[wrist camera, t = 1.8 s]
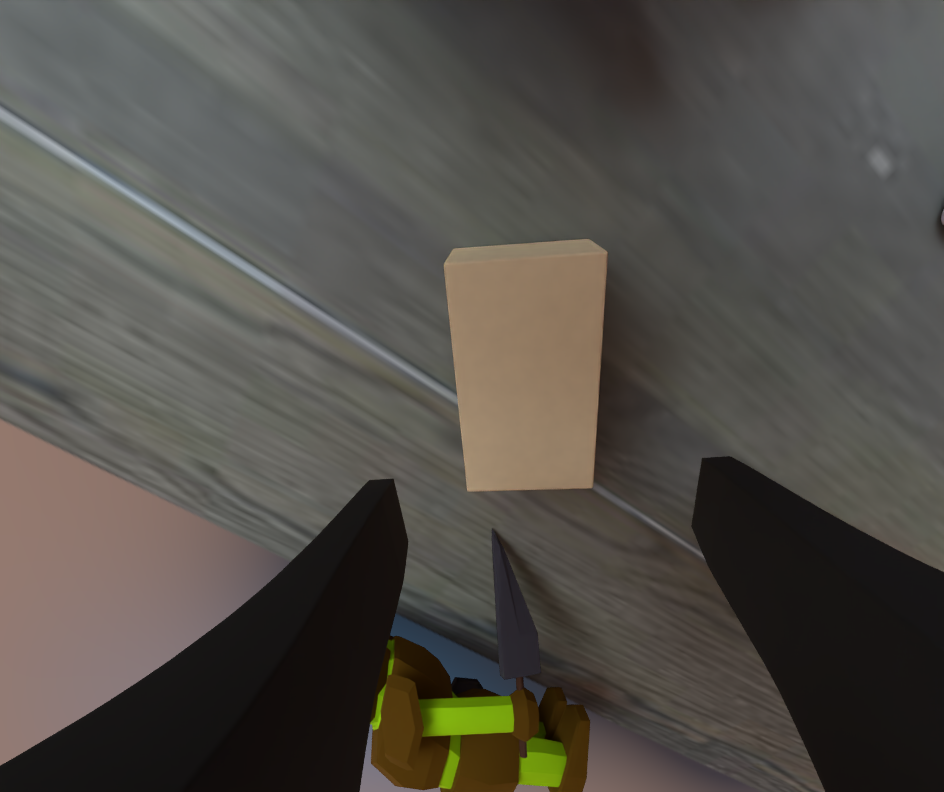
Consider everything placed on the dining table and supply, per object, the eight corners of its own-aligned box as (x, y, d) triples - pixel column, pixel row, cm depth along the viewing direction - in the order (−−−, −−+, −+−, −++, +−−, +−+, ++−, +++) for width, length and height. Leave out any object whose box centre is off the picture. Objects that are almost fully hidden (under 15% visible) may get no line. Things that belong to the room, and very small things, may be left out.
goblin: (631, 555, 23) (345, 496, 20) (607, 902, 18) (236, 896, 15) (547, 543, 32) (346, 502, 29) (518, 769, 28) (279, 749, 25)
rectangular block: (452, 248, 16) (443, 262, 13) (589, 238, 16) (608, 251, 13) (471, 450, 20) (467, 492, 17) (580, 446, 20) (593, 489, 17)
